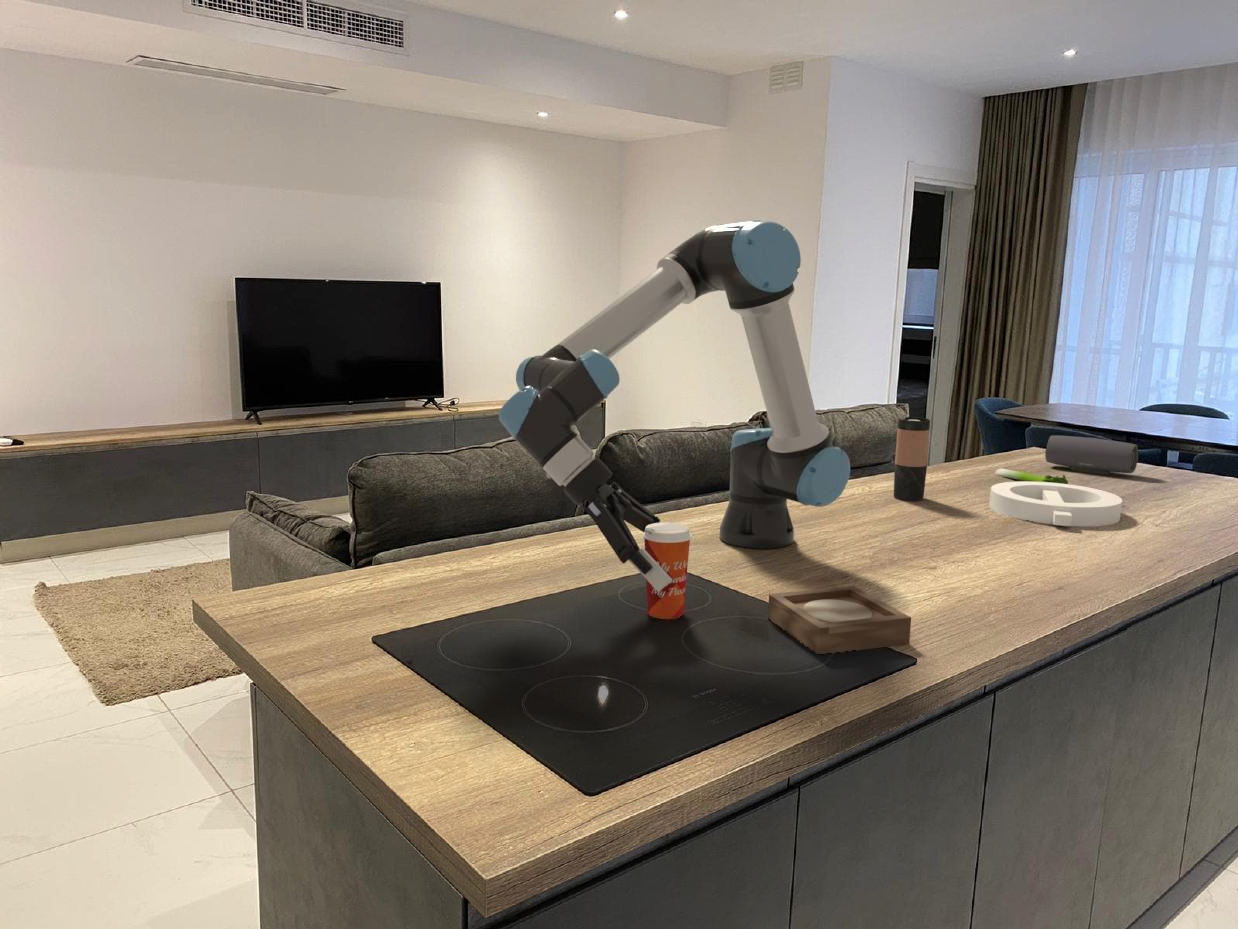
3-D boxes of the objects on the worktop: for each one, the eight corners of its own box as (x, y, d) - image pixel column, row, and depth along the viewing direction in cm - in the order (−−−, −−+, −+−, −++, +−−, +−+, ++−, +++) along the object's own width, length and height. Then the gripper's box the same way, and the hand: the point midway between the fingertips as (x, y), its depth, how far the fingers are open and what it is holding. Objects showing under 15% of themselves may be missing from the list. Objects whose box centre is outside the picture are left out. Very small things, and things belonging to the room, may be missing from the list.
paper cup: (656, 625, 136) (658, 536, 133) (632, 610, 143) (633, 524, 140) (699, 618, 140) (702, 530, 137) (674, 603, 146) (676, 519, 144)
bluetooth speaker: (1136, 475, 259) (1140, 441, 257) (1127, 479, 252) (1131, 444, 251) (1053, 464, 275) (1057, 432, 273) (1043, 468, 268) (1046, 435, 266)
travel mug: (926, 502, 221) (932, 421, 217) (893, 500, 223) (899, 420, 219) (922, 495, 229) (928, 417, 225) (891, 493, 230) (896, 416, 226)
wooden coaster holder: (767, 618, 140) (769, 594, 139) (851, 609, 144) (853, 585, 143) (818, 655, 126) (819, 628, 125) (909, 643, 130) (911, 617, 129)
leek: (1012, 482, 258) (1077, 496, 228) (989, 485, 257) (1051, 500, 227) (1010, 461, 257) (1075, 473, 227) (987, 464, 256) (1049, 476, 227)
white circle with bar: (1044, 496, 232) (1045, 478, 231) (1147, 520, 207) (1149, 500, 206) (963, 505, 220) (965, 486, 219) (1062, 533, 195) (1065, 511, 194)
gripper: (582, 472, 153) (667, 564, 152) (539, 505, 129) (640, 614, 128) (613, 443, 151) (699, 536, 150) (575, 471, 127) (678, 581, 126)
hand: (672, 572), depth 139 cm, fingers open, 13 cm apart
